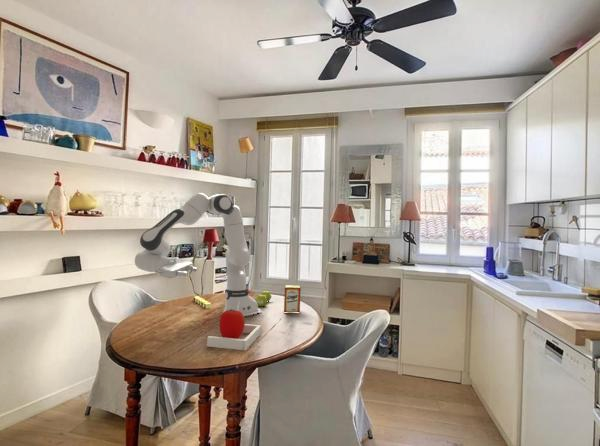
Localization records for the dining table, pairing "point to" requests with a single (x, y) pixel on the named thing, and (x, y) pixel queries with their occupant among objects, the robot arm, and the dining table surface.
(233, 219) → the robot arm
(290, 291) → the baking soda box
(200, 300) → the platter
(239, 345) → the white tray
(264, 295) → the dumbbell
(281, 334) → the dining table surface
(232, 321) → the red apple
